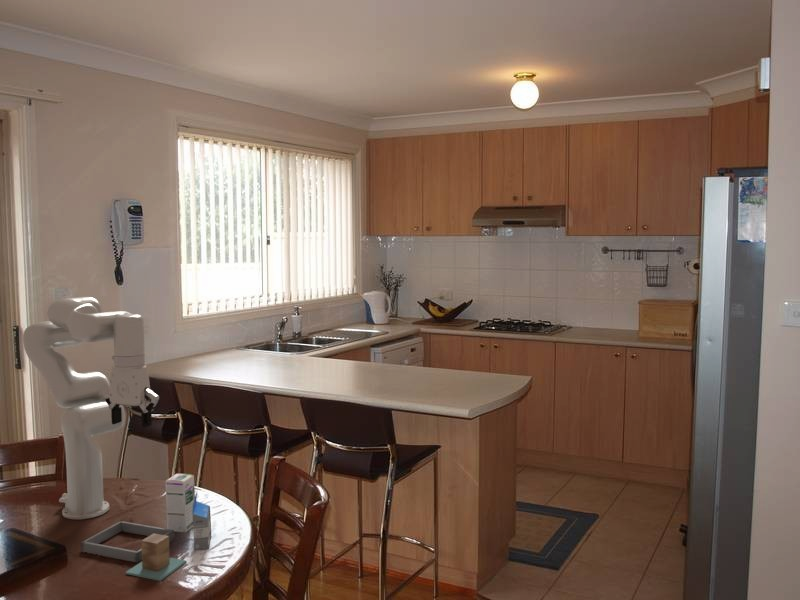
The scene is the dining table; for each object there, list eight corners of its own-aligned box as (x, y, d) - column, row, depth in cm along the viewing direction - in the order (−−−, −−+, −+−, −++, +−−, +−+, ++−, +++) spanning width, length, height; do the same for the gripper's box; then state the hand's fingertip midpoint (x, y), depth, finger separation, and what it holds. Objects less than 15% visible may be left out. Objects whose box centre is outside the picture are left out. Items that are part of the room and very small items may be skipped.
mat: (125, 573, 172) (125, 571, 172) (153, 556, 181) (153, 554, 181) (160, 580, 169) (160, 578, 169) (186, 562, 178) (186, 560, 178)
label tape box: (209, 549, 185) (208, 503, 184) (192, 550, 185) (191, 504, 183) (211, 535, 194) (210, 491, 193) (196, 536, 193) (195, 492, 192)
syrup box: (186, 533, 195) (185, 481, 194) (166, 531, 196) (164, 479, 195) (196, 524, 201) (195, 474, 199) (176, 522, 202) (175, 472, 201)
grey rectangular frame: (81, 551, 184) (81, 542, 183) (121, 529, 197) (120, 520, 197) (137, 562, 178) (137, 552, 178) (174, 539, 191) (173, 530, 191)
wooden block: (142, 568, 174) (141, 540, 173) (154, 560, 178) (153, 533, 177) (157, 571, 172) (156, 543, 171) (169, 563, 176) (168, 536, 176)
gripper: (92, 361, 189) (95, 425, 190) (147, 366, 183) (149, 431, 185) (113, 356, 196) (115, 418, 198) (166, 361, 190) (167, 424, 192)
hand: (131, 424), depth 191 cm, fingers open, 9 cm apart
